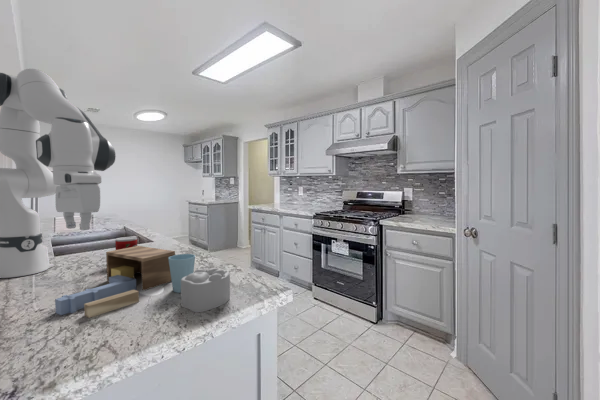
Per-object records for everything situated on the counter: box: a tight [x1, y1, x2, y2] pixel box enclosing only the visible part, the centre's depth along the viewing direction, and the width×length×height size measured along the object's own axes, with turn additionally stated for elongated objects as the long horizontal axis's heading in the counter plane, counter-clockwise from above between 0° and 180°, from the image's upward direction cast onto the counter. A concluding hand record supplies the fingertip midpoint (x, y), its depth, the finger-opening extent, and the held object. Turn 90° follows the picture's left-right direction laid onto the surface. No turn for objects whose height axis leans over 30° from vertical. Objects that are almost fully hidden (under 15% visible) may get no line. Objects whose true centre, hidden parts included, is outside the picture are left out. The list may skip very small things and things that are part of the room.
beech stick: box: [83, 289, 140, 319], centre depth 76 cm, size 3×12×3 cm, turn 147°
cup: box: [168, 253, 196, 294], centre depth 89 cm, size 8×8×10 cm
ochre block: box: [111, 265, 135, 279], centre depth 98 cm, size 6×4×4 cm
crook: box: [54, 275, 137, 316], centre depth 82 cm, size 10×19×4 cm, turn 152°
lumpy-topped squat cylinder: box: [180, 267, 231, 313], centre depth 80 cm, size 10×13×9 cm
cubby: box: [105, 245, 176, 291], centre depth 98 cm, size 20×12×10 cm, turn 62°
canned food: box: [114, 236, 138, 250], centre depth 119 cm, size 8×8×11 cm
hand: (77, 229), depth 78 cm, fingers open, 8 cm apart
